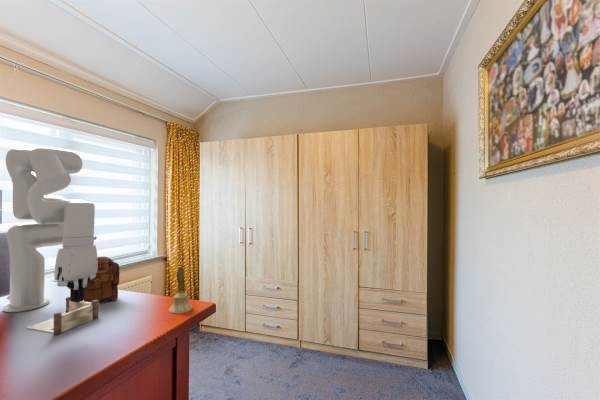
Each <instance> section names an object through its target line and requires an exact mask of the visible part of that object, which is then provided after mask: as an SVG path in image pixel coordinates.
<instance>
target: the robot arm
mask: <svg viewBox="0 0 600 400" xmlns="http://www.w3.org/2000/svg"><path fill="white" fill-rule="evenodd" d="M5 166H6V169H7V172H8V175H9V177H10V178H11V182H12V214H13V216H14V218H16V219H17V220H22V221H35V223H34V222H33V223H32V222H31V223H20V224H15V225H13V226H11V227H9V229H7V232H6V241H7V245H8V251H9V296H7V297H6V300H8V301H9V303H8V304H6V305H5V306H4V307H3V312H6V313H19V312H26V311H27V312H28V311H31V310H35V309H39V308H42V307H44V306H47V305H48V304H50V298H49V297H45V268H46V267H45V264H46V263H45V257H44V256H43V255H42V253H40V252H39V251H38V250H37V249H39V248H40V249H41V248H46V247H56V246H60V245H62V247H61V246H60V247H59V248H58V251H57V254H56V259H55V265H54V277H53V278H54V280H55V281H57V283H56V286H57V287H61V288H62V287H64V288H65V287H66V288H68V289H69V290H70V291H69V295H70V296H69V297H70V299H71V301H72V302H77V303H78V302H80V301H84V288H85V287H86V286H87V283H88V282H89V280H91V279H93V278H95V277H96V273H97V269H98V258H97V257H98V250H97V247H96V244H95V240H97V239H98V238H97V236H96V235H95V216H96V215H95V214H96V213H95V210H96V209H95V207H96V206H95V203H94V202H91V201H86V200H83V199H65V198H64V197H62V196H59V195H50V194H53V193H56V192H59V191H61V190H62V191H63V190H65V189H66V188H67V187H68V186H69V185H70V184H71V183H72V177H71V174H77V173H79V172H80V171H81V170H82V168H83V159H82V156H81V155H80V154H79V153H78V152H77V151H75V150H72V149H71V150H70V149H64V148H55V147H50V146H49V147H48V146H47V147H46V146H40V147H34V148H24V147H19V148H18V147H17V148H12V149H9V150H8V151H7V152H6V156H5Z"/></svg>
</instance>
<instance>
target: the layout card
mask: <svg viewBox="0 0 600 400" xmlns="http://www.w3.org/2000/svg"><path fill="white" fill-rule="evenodd" d="M26 329H28V330H34V331H38V332H45V333H49V334H50V333H51V334H54V317H52V318H50V319H47V320H45V321H41V322H39V323H35V324H33V325H30V326H27V327H26Z"/></svg>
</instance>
